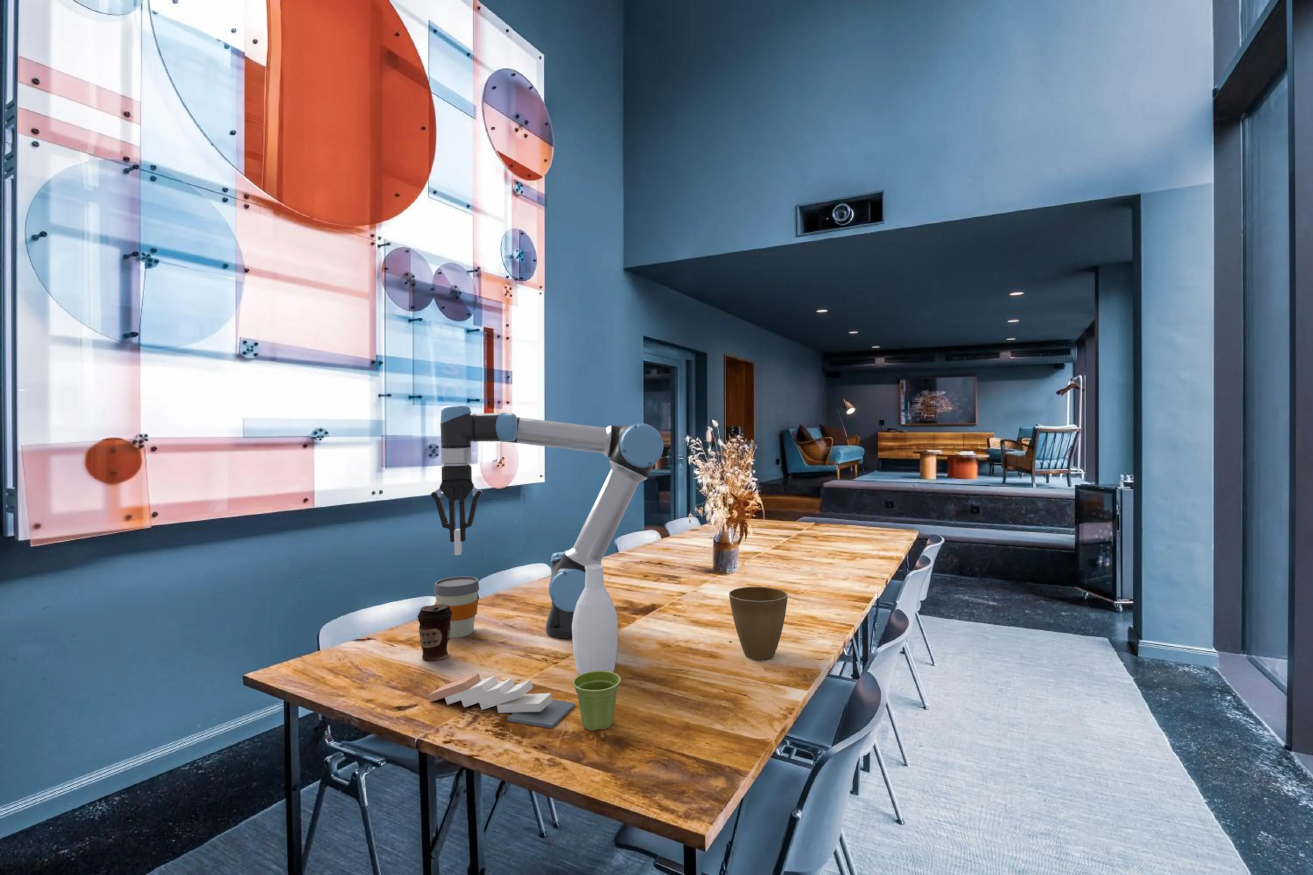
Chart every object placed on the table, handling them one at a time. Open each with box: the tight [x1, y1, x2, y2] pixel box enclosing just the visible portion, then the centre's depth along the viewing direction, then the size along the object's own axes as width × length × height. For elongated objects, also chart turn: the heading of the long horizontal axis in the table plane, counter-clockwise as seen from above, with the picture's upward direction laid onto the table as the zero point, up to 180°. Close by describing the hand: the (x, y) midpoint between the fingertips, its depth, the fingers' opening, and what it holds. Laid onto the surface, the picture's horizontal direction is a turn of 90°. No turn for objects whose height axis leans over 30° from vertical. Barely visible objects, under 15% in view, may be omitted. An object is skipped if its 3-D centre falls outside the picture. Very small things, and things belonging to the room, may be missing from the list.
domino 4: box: [478, 679, 534, 711], centre depth 123 cm, size 2×5×10 cm
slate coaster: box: [507, 699, 576, 729], centre depth 121 cm, size 10×10×1 cm
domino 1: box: [428, 673, 482, 702], centre depth 128 cm, size 2×5×10 cm
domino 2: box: [444, 675, 499, 706], centre depth 126 cm, size 2×5×10 cm
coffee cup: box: [417, 604, 452, 661], centre depth 153 cm, size 9×8×13 cm
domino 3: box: [460, 677, 516, 708], centre depth 125 cm, size 2×5×10 cm
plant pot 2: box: [728, 586, 789, 661], centre depth 151 cm, size 15×15×16 cm
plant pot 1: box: [572, 671, 622, 732], centre depth 116 cm, size 9×9×9 cm
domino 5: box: [496, 692, 553, 714], centre depth 122 cm, size 2×5×10 cm
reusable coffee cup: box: [433, 575, 480, 639], centre depth 172 cm, size 13×13×15 cm
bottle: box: [571, 564, 619, 676], centre depth 142 cm, size 11×11×25 cm
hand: (458, 553), depth 155 cm, fingers closed
